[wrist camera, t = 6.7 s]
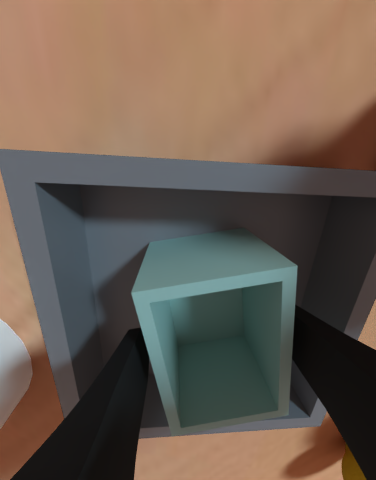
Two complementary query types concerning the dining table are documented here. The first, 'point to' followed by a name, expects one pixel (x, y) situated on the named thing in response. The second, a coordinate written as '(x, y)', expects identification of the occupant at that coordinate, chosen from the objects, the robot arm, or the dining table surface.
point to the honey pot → (12, 371)
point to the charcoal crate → (176, 226)
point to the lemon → (351, 467)
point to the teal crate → (218, 328)
